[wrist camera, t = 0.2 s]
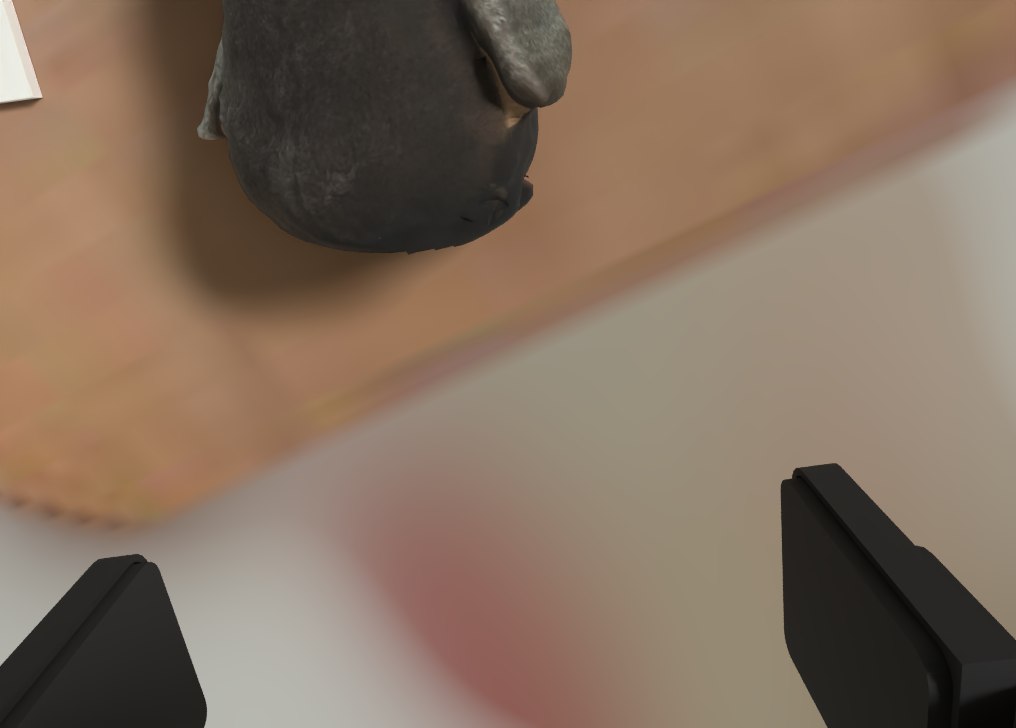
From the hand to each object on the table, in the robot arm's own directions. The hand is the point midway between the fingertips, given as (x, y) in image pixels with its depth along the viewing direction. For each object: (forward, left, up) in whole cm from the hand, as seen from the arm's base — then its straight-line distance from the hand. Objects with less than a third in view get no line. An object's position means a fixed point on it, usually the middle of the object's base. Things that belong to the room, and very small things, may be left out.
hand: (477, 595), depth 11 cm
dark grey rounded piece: (-11, -4, -31) cm, 33 cm away
